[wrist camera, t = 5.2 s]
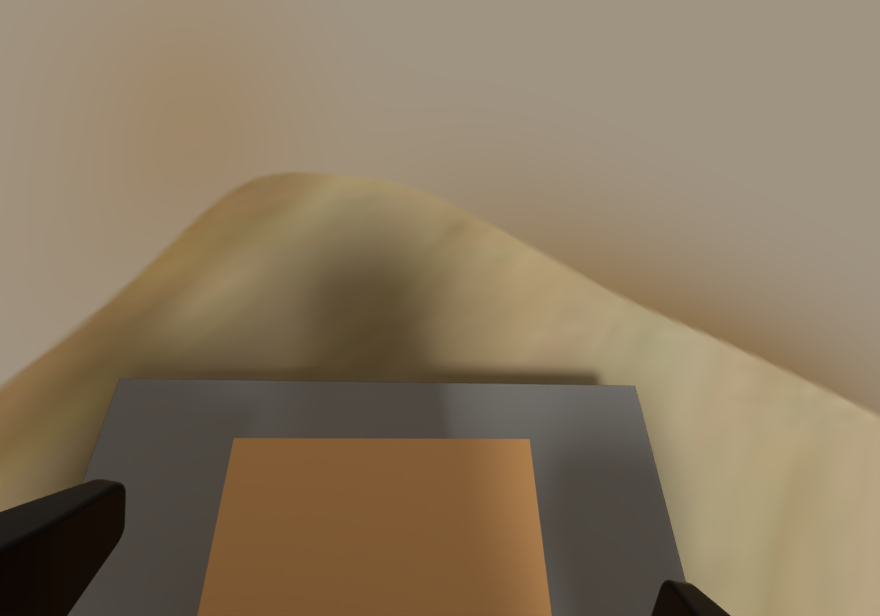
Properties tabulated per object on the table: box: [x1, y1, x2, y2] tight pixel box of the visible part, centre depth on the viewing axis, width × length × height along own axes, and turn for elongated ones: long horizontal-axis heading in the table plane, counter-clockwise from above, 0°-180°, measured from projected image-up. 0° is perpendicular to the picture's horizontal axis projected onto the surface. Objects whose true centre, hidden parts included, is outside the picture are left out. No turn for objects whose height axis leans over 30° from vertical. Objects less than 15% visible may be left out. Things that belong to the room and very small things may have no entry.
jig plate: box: [68, 379, 686, 616], centre depth 13 cm, size 12×16×2 cm
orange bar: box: [197, 438, 552, 616], centre depth 10 cm, size 4×4×10 cm
